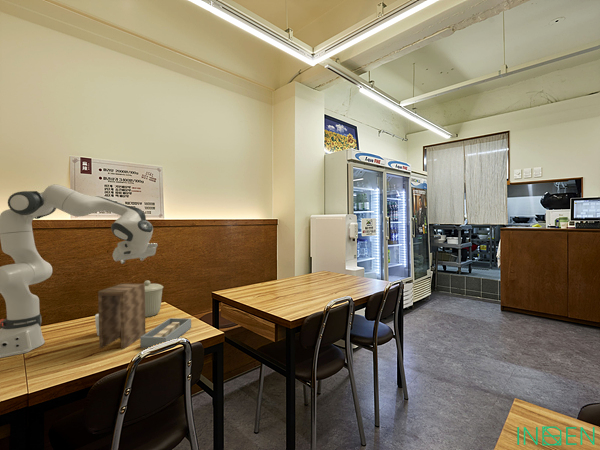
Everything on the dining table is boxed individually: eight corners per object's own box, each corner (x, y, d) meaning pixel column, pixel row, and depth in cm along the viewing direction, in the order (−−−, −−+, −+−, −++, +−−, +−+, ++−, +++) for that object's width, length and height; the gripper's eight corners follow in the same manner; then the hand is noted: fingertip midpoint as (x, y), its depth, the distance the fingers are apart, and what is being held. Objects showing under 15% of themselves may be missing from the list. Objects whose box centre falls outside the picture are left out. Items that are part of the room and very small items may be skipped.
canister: (127, 321, 171) (127, 284, 171) (134, 311, 188) (133, 278, 188) (162, 317, 177) (161, 282, 176) (165, 308, 194) (165, 276, 193)
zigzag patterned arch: (124, 348, 134) (123, 291, 134) (99, 347, 135) (98, 291, 135) (145, 334, 150) (144, 283, 150) (123, 334, 151) (122, 283, 151)
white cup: (104, 336, 148) (104, 317, 148) (91, 335, 150) (91, 316, 149) (117, 331, 156) (117, 312, 156) (104, 330, 157) (104, 311, 157)
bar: (159, 344, 136) (159, 337, 136) (152, 344, 137) (152, 337, 136) (179, 328, 156) (179, 322, 156) (173, 328, 157) (172, 322, 156)
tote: (165, 348, 134) (165, 337, 134) (140, 347, 135) (140, 337, 135) (191, 327, 160) (191, 318, 159) (169, 327, 161) (169, 318, 160)
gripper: (156, 238, 162) (150, 253, 170) (114, 243, 147) (109, 259, 155) (160, 247, 160) (154, 262, 167) (117, 253, 145) (112, 269, 152)
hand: (132, 261), depth 161 cm, fingers open, 8 cm apart
